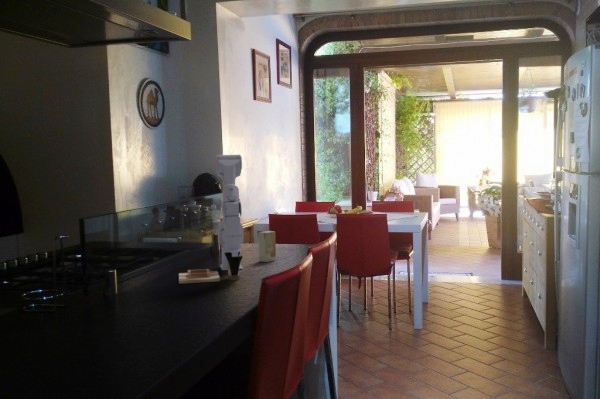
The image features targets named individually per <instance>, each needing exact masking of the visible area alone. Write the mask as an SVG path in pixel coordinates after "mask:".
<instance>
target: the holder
mask: <svg viewBox="0 0 600 399" xmlns="http://www.w3.org/2000/svg"><path fill="white" fill-rule="evenodd" d="M220 281H221V277H220V275H219V272H218V270H210V269H209V268H206V269H205V268H203V269H187V272H179V273H178V284H195V283H196V284H197V283H198V284H199V283H211V282H214V283H215V282H220Z"/></svg>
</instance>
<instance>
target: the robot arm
mask: <svg viewBox="0 0 600 399" xmlns="http://www.w3.org/2000/svg"><path fill="white" fill-rule="evenodd" d="M242 160H243V159H242V155H241V154H216V155H215V172H216V177H218V178H220V179H221V180H222V184H223V188H222V200H223V203H222V219H223V221H221V222H220V223H219V224H218V226H217V244H218V245H219V246H221V264H219V266H220V269H221V271H228V262H229V266H230V271H231V275H232V276H238V272H239V273H240V270H243V265H242V264H241V263H242V260H243V255H241V251H242V249H243V248H242V244H244V243H245V242H244V241H245V240H244V227H243V224H242V222H241V218H242V214H243V212H242V210H243V208H242V203H241V199H240V190H239V187H238V186H237V185H236V179H237V178H238V177H240V176H241V174H242V169H243V161H242Z"/></svg>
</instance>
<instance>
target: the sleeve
mask: <svg viewBox="0 0 600 399" xmlns="http://www.w3.org/2000/svg"><path fill="white" fill-rule="evenodd" d="M240 279H241V277H240V271H239V272H238V276H232V275H231V271H230V266H229V262H228V270H227V280H228V281H239V280H240Z"/></svg>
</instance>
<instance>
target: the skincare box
mask: <svg viewBox="0 0 600 399" xmlns="http://www.w3.org/2000/svg"><path fill="white" fill-rule="evenodd" d="M276 242H277V241H276V231H274V230H273V231H272V230H267V231H265V230H264V231H259V232H258V261H259V262H263V263H269V262H273V261H276V260H277V255H276V254H277V253H276V252H277V250H276Z"/></svg>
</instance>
